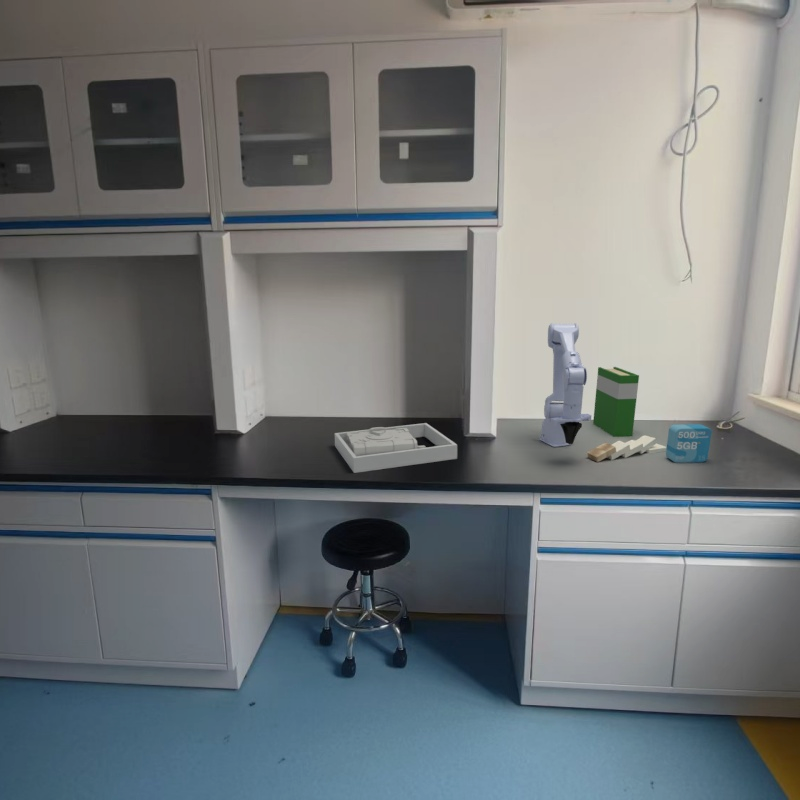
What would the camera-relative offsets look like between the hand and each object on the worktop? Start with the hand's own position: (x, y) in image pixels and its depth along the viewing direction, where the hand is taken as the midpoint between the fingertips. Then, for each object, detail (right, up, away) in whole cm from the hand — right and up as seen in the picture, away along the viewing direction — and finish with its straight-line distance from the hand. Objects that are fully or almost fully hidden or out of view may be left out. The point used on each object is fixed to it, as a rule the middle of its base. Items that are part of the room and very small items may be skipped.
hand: (569, 443), depth 170 cm
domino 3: (+20, -4, +7) cm, 22 cm away
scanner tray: (-59, -4, +12) cm, 60 cm away
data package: (+40, -6, +3) cm, 41 cm away
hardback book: (+29, +2, +36) cm, 47 cm away
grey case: (-61, -5, +13) cm, 62 cm away
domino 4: (+27, -3, +10) cm, 29 cm away
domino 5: (+30, -4, +11) cm, 32 cm away
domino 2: (+14, -5, +5) cm, 16 cm away
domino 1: (+9, -5, +3) cm, 11 cm away
